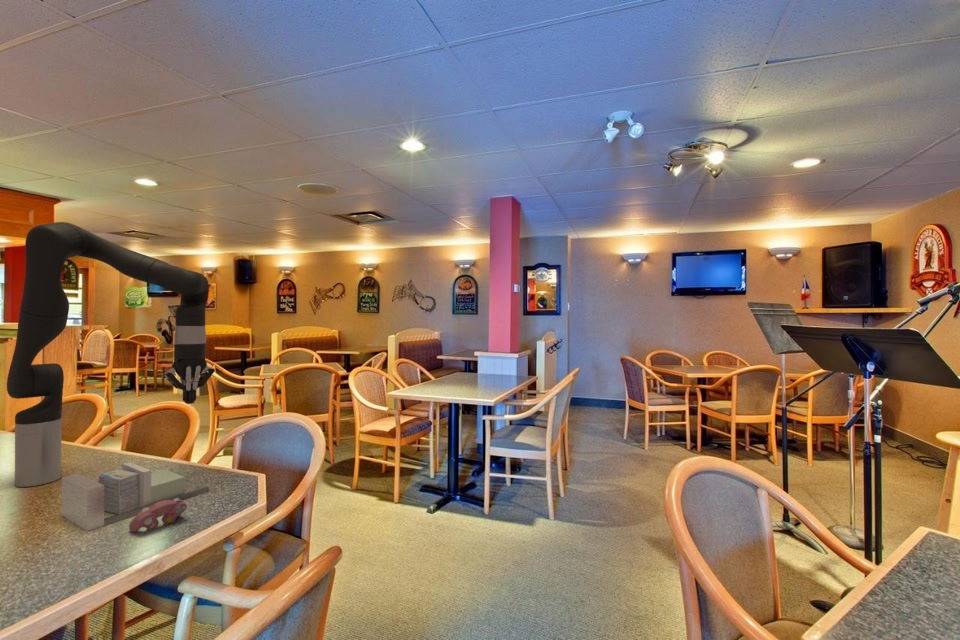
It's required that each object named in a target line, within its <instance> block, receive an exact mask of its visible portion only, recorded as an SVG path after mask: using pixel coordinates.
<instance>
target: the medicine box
mask: <svg viewBox="0 0 960 640" xmlns="http://www.w3.org/2000/svg"><path fill="white" fill-rule="evenodd" d="M98 483H100V484H102V485H104V512H107V513H112V514H114V515H117V514H120V513H123V512H126V511H130V510H133V509H136V508H139V474H138V473H134V472H129V471H124V470H123V469H116V470H112V471H108V472H105V473H102V474H100V475H98Z"/></svg>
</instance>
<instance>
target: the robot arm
mask: <svg viewBox="0 0 960 640" xmlns="http://www.w3.org/2000/svg"><path fill="white" fill-rule="evenodd" d="M24 247H25V251H24V252H25V255H24V256H25V257H24V258H25V274H24V275H25V276H24V279H23V280H24V281H23V290H22V298H21V302H20V307H19V313H18V319H17V320H18V322H17V331H16V332H17V333H16V341H15V346H14V350H13V354H12V359H11V362H10V366H9V370H8V374H7V378H6V379H7V380H6V391H7V394H8V396H9V397H10V398H11V399H29V398H30V399H31V398H38V397H43V399H42V400H41V401H40V402H38V403H37V404H34V405H32V406H30V407H27V408H26V409H22V410H20V411H18V412H16V413H15V416H14V486H15V487H18V488H27V487H34V486H40V485H46V484H49V483H53V482H55V481H57V480H59V479H62V413H63V397H64V396H63V395H64V393H63V392H64V381H65V375H64V373H65V372H64V370H63V367H62V366H61V365H60V364H59V363H53V362H51V363H38V364H37V363H36V364H33V362H34V360H35V358H36V357H37V356H38V354H39V353H40V352H41V351H43V349H44V348H45V347H47V346H48V345H49V344H50V343H52V342H53V341H54V340H55V339H56V338H57V337H59V336H60V335H61V334H62V333H63V331H64V330H65V329H66V326H67V322H68V317H69V312H70V303H69V302H70V301H69V299H68V298H69V297H68V296H67V294H66V292H65V290H64V288H63V286H62V281H61V280H62V273H63V267H64V265H65V261H66V259H69V258H73V257H82V258H88V259H93V260H95V261H100V262H101V263H104V264H106V265H108V266H110V267H112V268H113V269H115V270H116V271H117V272H119V273H121V274H123V275H124V276H125V277H126V276H127V277H129V278H132V279H134V280H138V281H140V282H143V283H147V284H150V285H153V286H156V287H157V286H159V287H161V288H163V289H165V290H168V291H170V292H173V293H176V294H178V295H180V302H179V305H178V306H177V307H176V309H175V319H174V320H175V323H174V325H175V327H174V333H173V363H172V365H171V368H170V369H169V370H167V371H164V372H163V373H162V376H163V377H164V378H165V379H166V380H167V381H168V382H169V383H170V384H171V386H173V387H174V388H175V389H179V390H182V401H183V402H184V403H185V404H187V405H189V404H194V403H195V402H196V400H197V390H198V389H199V388H202V387H204V386H205V385H206V383H208V381H209V379H210V378H211V376H213V374H214V373H215V372H216V370H215V368H213V367H212V368H211V367H210V366H208V363H207V361H206V357H207V330H206V308H207V304H208V298H209V293H210V285H209V280H208V279H207V276H206V275H204V274H202V273H201V272H199V271H198V272H197V271H194V270H190V269H186V268H183V267H179V266H176V265H172V264H170V263H168V262H166V261H164V260H160V259H158V258H155V257H152V256H149V255H146V254H143V253H141V252H138V251H134V250H131V249H129V248H126V247H124V246H121V245H118V244H117V243H114V242H112V241H110V240H108V239H106V238H103V237H101V236H99V235H97V234H95V233H92V232H91V231H89V230H87V229H85V228H83V227H80V226H78V225H76V224H73V223H70V222H67V221H66V222H65V221H62V222H61V221H57V222H51V223H45V224H44V223H43V224H39V225H35V226H33V227H32V228H31V229H30V230H29V231H28V232H27V235H26V237H25V246H24ZM176 376H178V377H179V379H178V378H177V377H176Z"/></svg>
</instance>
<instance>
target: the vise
mask: <svg viewBox="0 0 960 640" xmlns="http://www.w3.org/2000/svg"><path fill="white" fill-rule="evenodd" d="M209 491H210V486H208V485H206V486H202V487H199V488H196V489H194V490H189V491H187V492H185V493H183V494H180V495H177V496H174V497H171V498H167V499H164V500H174V499H175V498H179V499H180V500H182V501H184V500H187V499H190V498H192V497H195V496H199V495H201V493H202V494H205V493H208V492H209ZM204 492H205V493H204ZM198 494H199V495H198ZM189 497H190V498H189ZM164 500H161V501H164ZM158 502H160V501H158ZM155 503H157V502H155ZM155 503H152V504H149V505H145V506H142V507H139V508H136V509H133V510H130V511H126V512H123V513H120V514H114V515H111V516H108V517H105V511H104V485H102V484H100V483H99V481H98V482H97V481H96V480H93V479H91V478H89V477H88V476H86V475H83V474H81V473H79V472H78V473H75V474H71V475H66V476H61V517H63V518H65V519H67V520H68V521H70V522H72V523H73V524H74V523H75V525H76V526H78V527H79V528H81V529H83V530H84V531H85V532H89V531H92V530H95V529H98V528H101V527H104V526H107V525H111V524H113V523H116V522H120V521H123V520H125V519H128V518H131V517H136V515H137V514H138V513H139V512H140V511H142V510H143V509H144V508H147V507H148V508H149V507H150V506H152V505H154V504H155Z"/></svg>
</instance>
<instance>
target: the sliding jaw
mask: <svg viewBox="0 0 960 640" xmlns="http://www.w3.org/2000/svg"><path fill="white" fill-rule="evenodd" d="M122 470H124V471H129V472H134V473H138V474H139V507H142V506H145V505H149V504H152V503H155V502H158V501H161V500H164V499H167V498H171V497H174V496H177V495H180V494H183V493H186V492H185V485H186V484H185V482H186V481H185V479H186V477H185V476H183V475H180V474H177V473H175V472H172V471H169V470H166V469H165V468H162V469H158V470H157V469H156V470H153V471H152V469H149V468H145V467H143V466H140V465H138V464H135V463H133V462H130V461H129V462H125V463H122Z"/></svg>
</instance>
